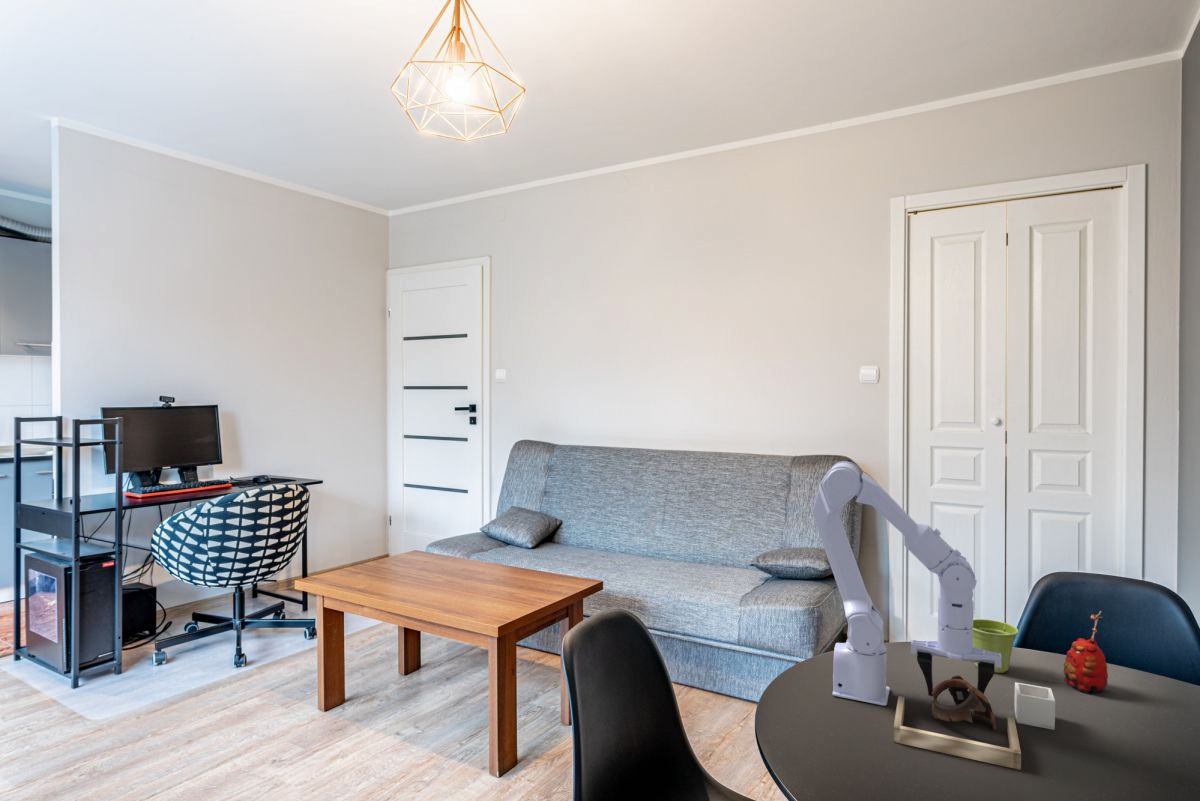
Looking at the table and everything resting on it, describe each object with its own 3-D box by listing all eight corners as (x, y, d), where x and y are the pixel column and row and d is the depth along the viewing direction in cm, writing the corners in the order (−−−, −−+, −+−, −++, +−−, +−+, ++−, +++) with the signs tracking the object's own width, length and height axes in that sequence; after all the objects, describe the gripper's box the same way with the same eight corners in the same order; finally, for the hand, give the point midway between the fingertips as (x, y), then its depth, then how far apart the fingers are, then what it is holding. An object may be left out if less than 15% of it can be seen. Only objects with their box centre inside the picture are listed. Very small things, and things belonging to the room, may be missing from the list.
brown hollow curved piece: (1008, 742, 114) (986, 703, 112) (950, 756, 117) (929, 718, 116) (988, 693, 125) (968, 656, 124) (936, 706, 128) (916, 671, 127)
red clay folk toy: (1055, 677, 138) (1057, 603, 137) (1092, 679, 137) (1094, 604, 137) (1078, 695, 130) (1080, 616, 130) (1118, 696, 129) (1119, 618, 129)
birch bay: (893, 741, 113) (893, 726, 113) (898, 709, 124) (898, 696, 124) (1020, 769, 105) (1021, 753, 105) (1014, 732, 116) (1014, 718, 116)
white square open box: (1017, 722, 119) (1017, 694, 119) (1014, 709, 124) (1014, 682, 124) (1054, 730, 117) (1055, 701, 117) (1050, 716, 122) (1050, 688, 122)
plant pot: (958, 657, 148) (959, 617, 148) (1005, 659, 147) (1005, 619, 146) (976, 675, 139) (976, 633, 138) (1026, 678, 137) (1027, 635, 137)
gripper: (910, 624, 124) (909, 699, 124) (1003, 638, 117) (1002, 716, 118) (912, 613, 130) (911, 683, 130) (1000, 625, 124) (999, 699, 124)
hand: (954, 698), depth 124 cm, fingers open, 7 cm apart
